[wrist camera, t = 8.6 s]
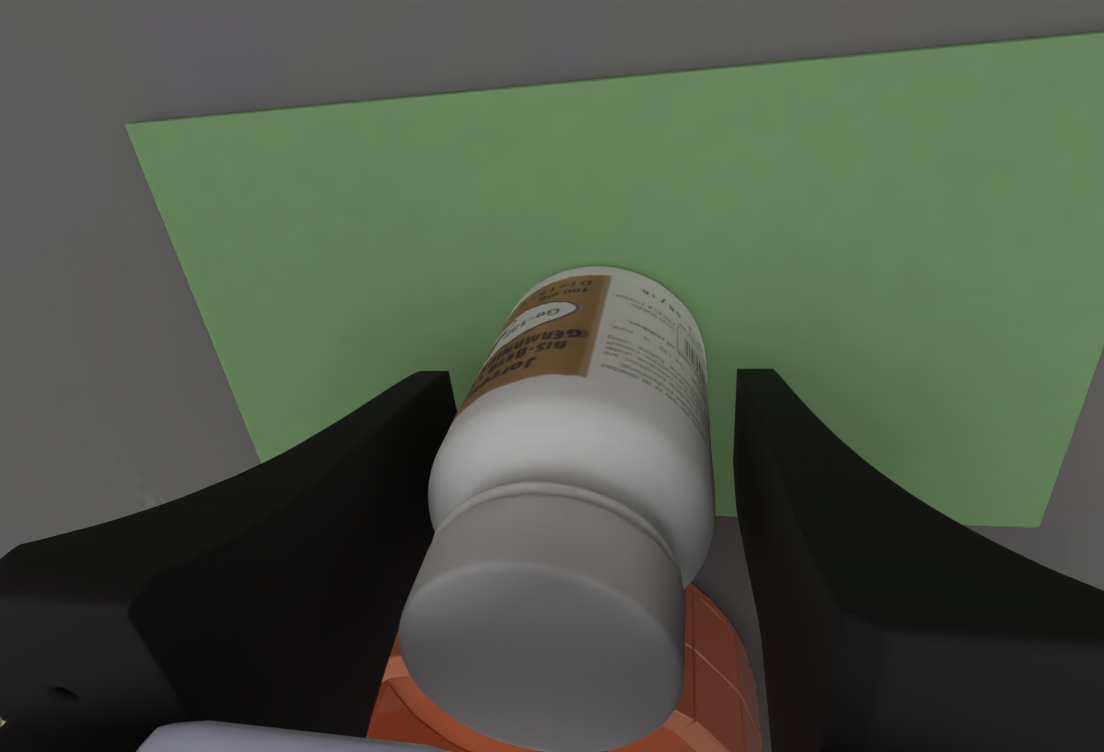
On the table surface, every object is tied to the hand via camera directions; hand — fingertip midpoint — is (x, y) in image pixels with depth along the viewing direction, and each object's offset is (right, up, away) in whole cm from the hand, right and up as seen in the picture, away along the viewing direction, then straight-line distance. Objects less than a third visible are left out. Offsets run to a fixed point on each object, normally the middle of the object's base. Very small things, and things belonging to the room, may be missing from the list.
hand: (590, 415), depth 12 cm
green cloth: (0, +2, +2) cm, 3 cm away
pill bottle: (0, +1, +2) cm, 2 cm away
